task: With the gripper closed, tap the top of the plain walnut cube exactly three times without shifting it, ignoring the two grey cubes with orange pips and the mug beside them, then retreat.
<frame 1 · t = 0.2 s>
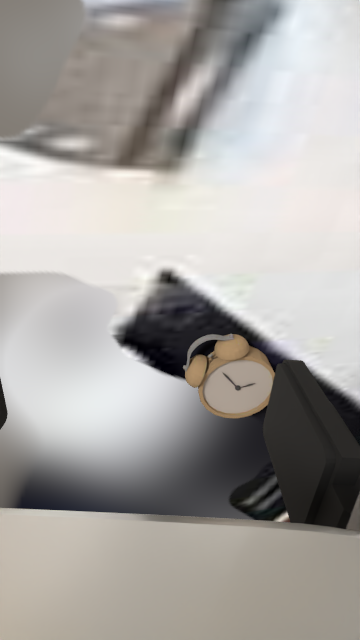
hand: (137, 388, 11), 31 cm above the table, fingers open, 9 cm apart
alarm clock: (226, 366, 47), on the table
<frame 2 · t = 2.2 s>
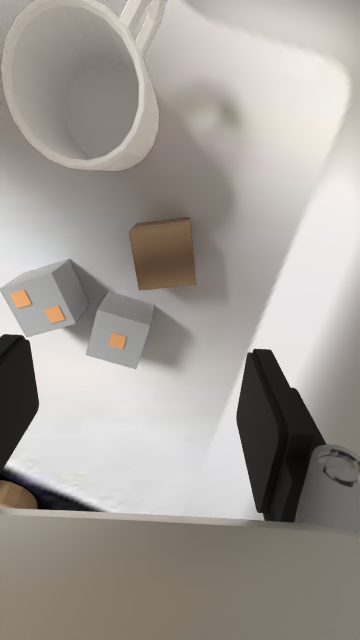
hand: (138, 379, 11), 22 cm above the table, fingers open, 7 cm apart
plain block: (166, 246, 31), on the table
block two: (58, 288, 33), on the table
block one: (125, 318, 34), on the table
mug: (125, 96, 26), on the table
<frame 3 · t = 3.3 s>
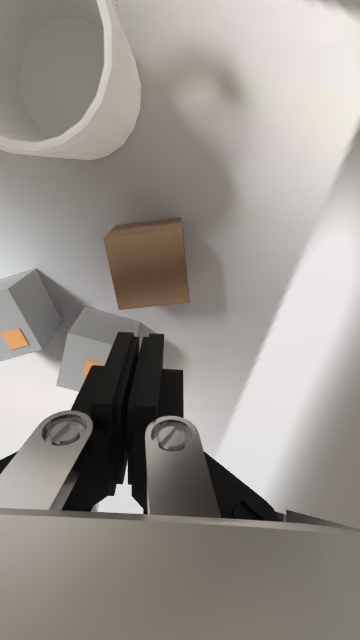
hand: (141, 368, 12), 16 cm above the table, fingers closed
plain block: (153, 253, 26), on the table
block two: (23, 303, 27), on the table
block one: (106, 337, 29), on the table
mug: (97, 63, 20), on the table
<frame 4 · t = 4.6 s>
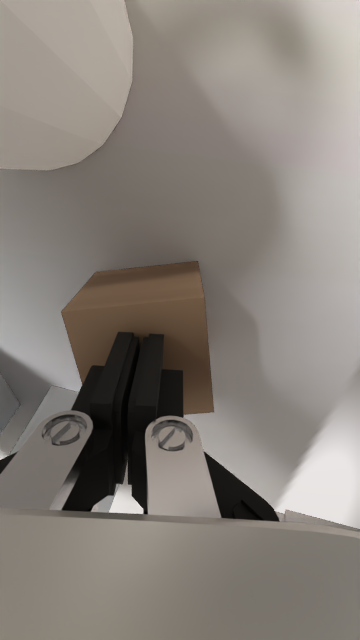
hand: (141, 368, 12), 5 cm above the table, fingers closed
plain block: (154, 312, 16), on the table
block one: (85, 426, 20), on the table
mug: (56, 1, 11), on the table
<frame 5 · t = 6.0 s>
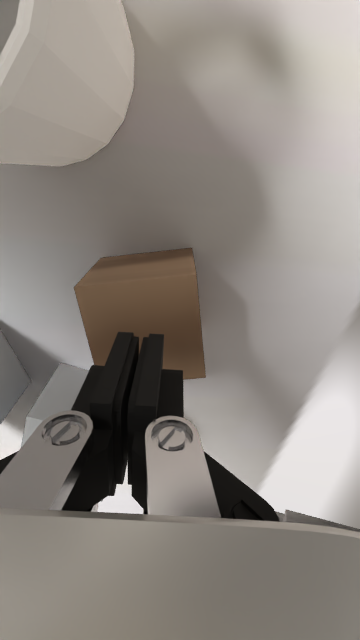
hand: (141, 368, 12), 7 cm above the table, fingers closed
plain block: (152, 295, 18), on the table
block one: (90, 401, 22), on the table
mug: (67, 19, 13), on the table
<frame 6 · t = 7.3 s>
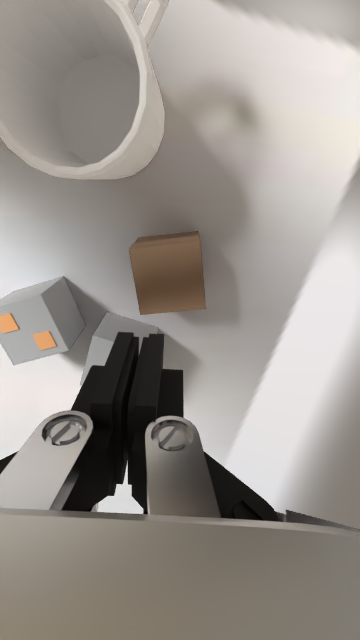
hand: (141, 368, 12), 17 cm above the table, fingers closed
plain block: (171, 263, 28), on the table
block two: (51, 308, 29), on the table
block one: (126, 341, 31), on the table
mug: (126, 94, 23), on the table
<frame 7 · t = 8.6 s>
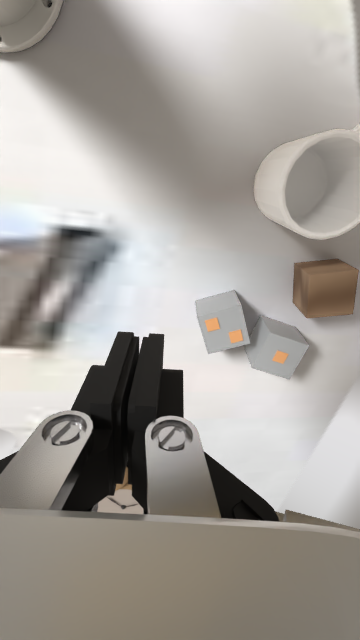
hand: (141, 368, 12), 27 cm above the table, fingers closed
plain block: (314, 280, 38), on the table
block two: (219, 312, 40), on the table
block one: (269, 337, 42), on the table
alarm clock: (119, 482, 54), on the table
mug: (304, 169, 33), on the table
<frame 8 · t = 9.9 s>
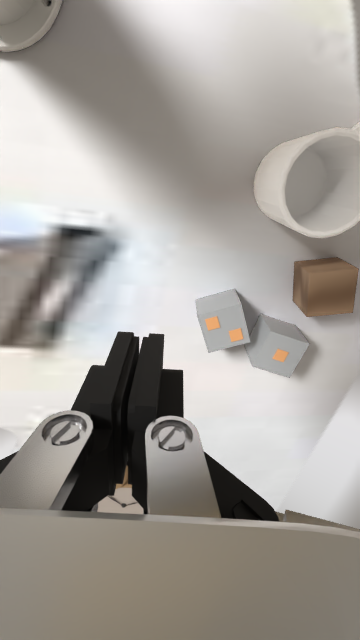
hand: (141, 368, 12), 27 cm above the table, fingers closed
plain block: (314, 279, 39), on the table
block two: (219, 311, 40), on the table
block one: (269, 335, 42), on the table
alarm clock: (119, 481, 54), on the table
mug: (304, 167, 33), on the table
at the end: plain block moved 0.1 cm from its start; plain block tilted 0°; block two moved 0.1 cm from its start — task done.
